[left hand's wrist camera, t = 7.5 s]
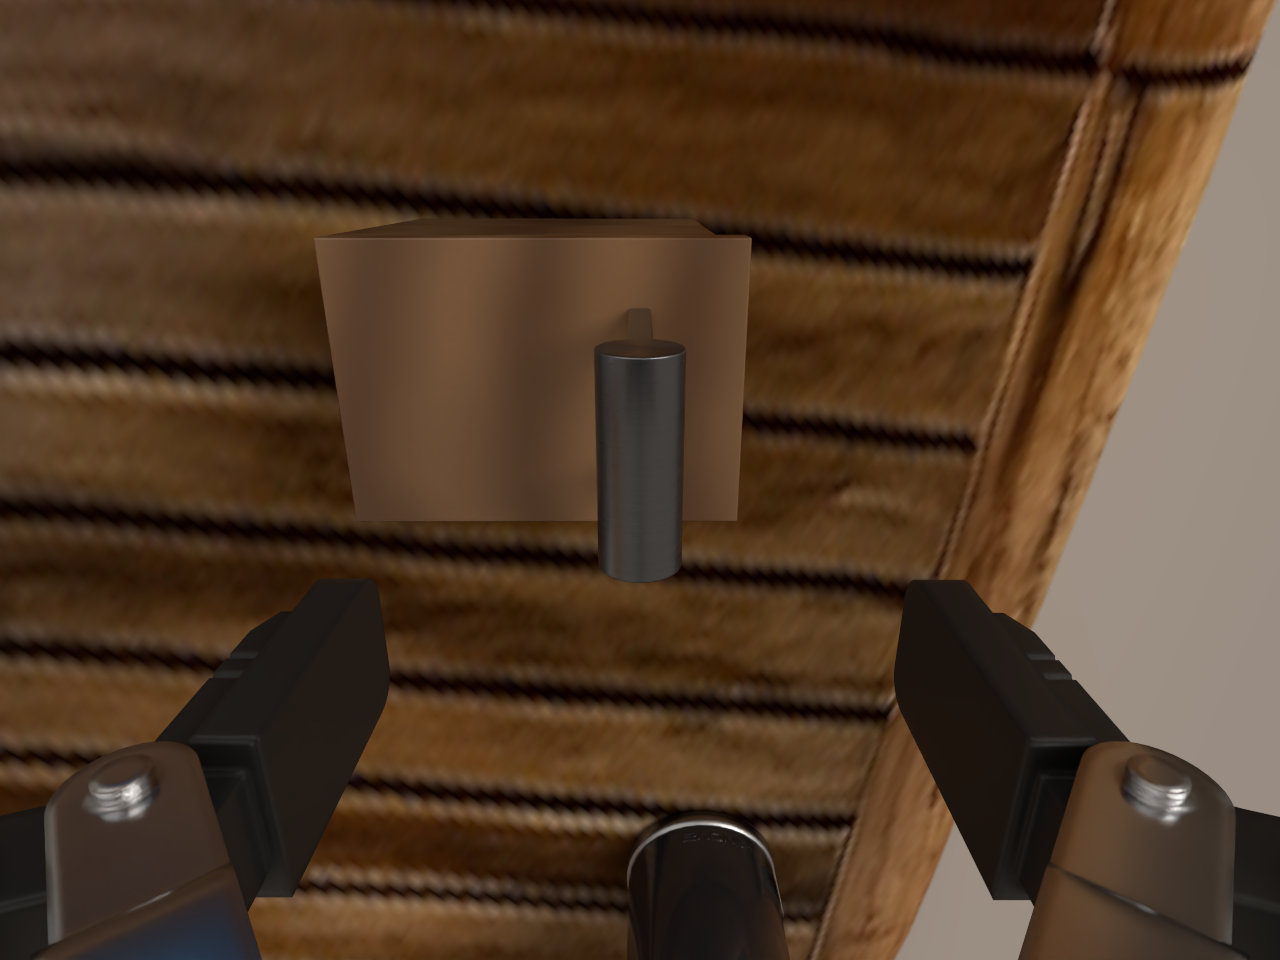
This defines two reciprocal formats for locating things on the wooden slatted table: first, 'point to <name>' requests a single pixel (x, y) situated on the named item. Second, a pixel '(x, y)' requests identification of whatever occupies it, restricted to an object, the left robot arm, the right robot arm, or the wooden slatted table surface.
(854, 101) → the wooden slatted table surface
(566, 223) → the chest
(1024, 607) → the wooden slatted table surface
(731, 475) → the lid
